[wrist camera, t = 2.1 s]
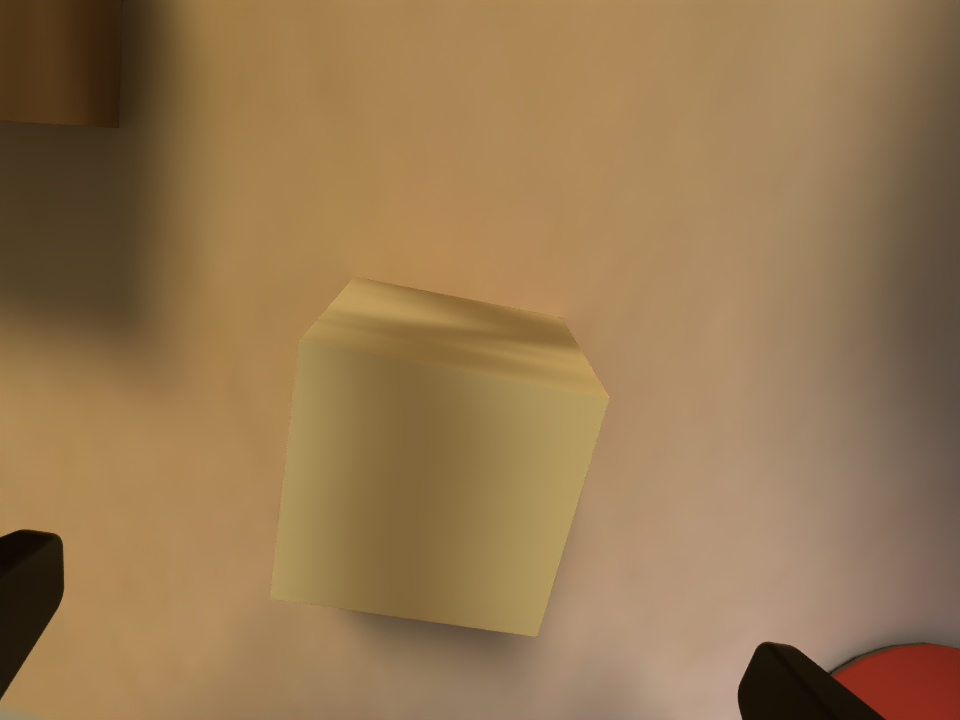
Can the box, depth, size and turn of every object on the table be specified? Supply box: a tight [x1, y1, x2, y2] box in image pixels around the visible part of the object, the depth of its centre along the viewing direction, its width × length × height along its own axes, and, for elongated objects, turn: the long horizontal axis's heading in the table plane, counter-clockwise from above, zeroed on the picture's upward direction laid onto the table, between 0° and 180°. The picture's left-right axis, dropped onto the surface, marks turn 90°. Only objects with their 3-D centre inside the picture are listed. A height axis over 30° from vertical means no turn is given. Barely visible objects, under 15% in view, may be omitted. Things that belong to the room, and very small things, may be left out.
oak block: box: [270, 277, 610, 637], centre depth 12 cm, size 5×5×5 cm
